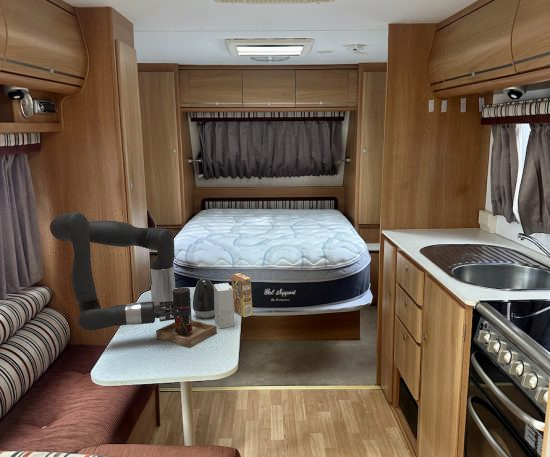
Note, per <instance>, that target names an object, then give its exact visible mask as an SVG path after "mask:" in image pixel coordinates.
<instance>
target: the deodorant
mask: <svg viewBox="0 0 550 457" xmlns="http://www.w3.org/2000/svg"><path fill="white" fill-rule="evenodd" d="M191 302H192V301H191V289H190V288H189V287H177V288H176V287H175V289H174V290H173V305H174V309H178V310H179V309H188V308H189V309H190V315H186V316H179V317H177V319H175V320H174V322H175V332H176V333H178V334H187V333H190V332H192V320H193V319H192V318H193V317H192V303H191Z"/></svg>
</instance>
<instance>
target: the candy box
mask: <svg viewBox="0 0 550 457" xmlns="http://www.w3.org/2000/svg"><path fill="white" fill-rule="evenodd" d="M230 279H231V288H232V289H233V303H234V313H236V314H237V315H239V316H240V317H243V318H246V317H250V316H253V299H252V282H251V281H252V280H251V277H250V276H247V275H245V274H243V273H240V272H239V273H234V274H231V275H230Z"/></svg>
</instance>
